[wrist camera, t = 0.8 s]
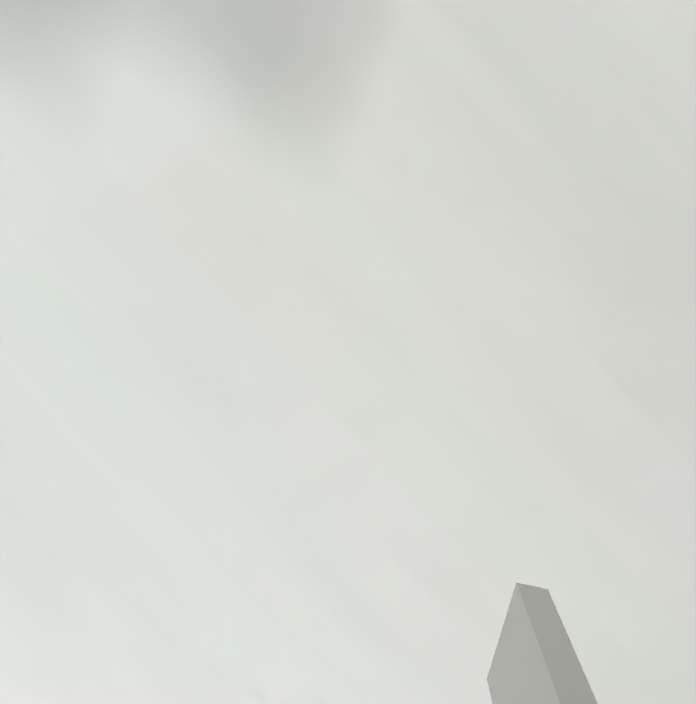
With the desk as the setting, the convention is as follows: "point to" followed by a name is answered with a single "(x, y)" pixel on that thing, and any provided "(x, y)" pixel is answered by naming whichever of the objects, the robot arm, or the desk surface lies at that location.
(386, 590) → the desk surface
